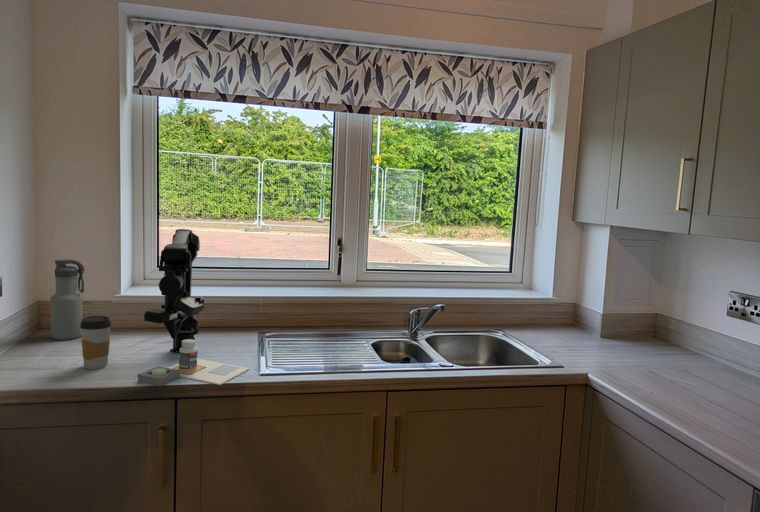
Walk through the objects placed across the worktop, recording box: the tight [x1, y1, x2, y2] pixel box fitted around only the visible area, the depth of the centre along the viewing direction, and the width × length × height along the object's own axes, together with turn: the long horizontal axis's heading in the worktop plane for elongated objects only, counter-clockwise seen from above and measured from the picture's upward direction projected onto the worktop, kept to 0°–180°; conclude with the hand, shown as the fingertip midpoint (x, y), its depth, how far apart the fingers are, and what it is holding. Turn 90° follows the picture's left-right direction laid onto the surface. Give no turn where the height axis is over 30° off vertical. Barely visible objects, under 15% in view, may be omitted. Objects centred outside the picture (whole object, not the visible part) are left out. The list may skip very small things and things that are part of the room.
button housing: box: [137, 365, 181, 387], centre depth 148 cm, size 8×8×2 cm
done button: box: [152, 368, 167, 376], centre depth 148 cm, size 4×4×2 cm
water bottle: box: [49, 258, 85, 341], centre depth 181 cm, size 10×10×28 cm
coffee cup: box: [80, 315, 112, 370], centre depth 155 cm, size 8×8×15 cm
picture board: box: [167, 358, 250, 386], centre depth 157 cm, size 22×15×1 cm
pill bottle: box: [178, 339, 198, 371], centre depth 157 cm, size 5×5×9 cm
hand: (174, 338), depth 153 cm, fingers closed
